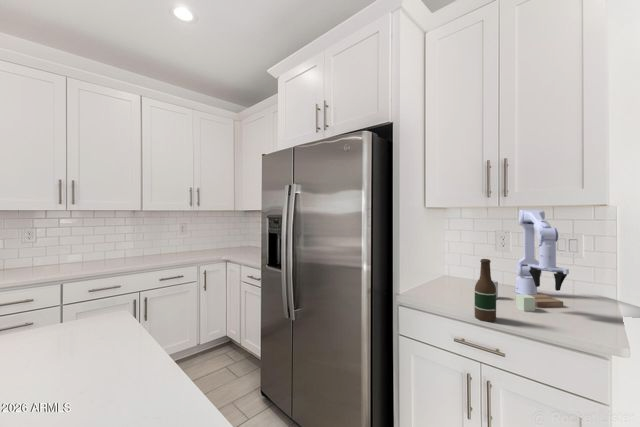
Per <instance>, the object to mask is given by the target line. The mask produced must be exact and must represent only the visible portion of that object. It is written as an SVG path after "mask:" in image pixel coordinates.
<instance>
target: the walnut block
mask: <svg viewBox="0 0 640 427" xmlns="http://www.w3.org/2000/svg"><path fill="white" fill-rule="evenodd" d="M527 295H530V296H532V297H535V308H537V309H541V308H546V309H547V308H549V309H550V308H564V301H563V300H559V299H557V298H555V297H552V296H549V295H547V294H544V293H537V294H527Z"/></svg>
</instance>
